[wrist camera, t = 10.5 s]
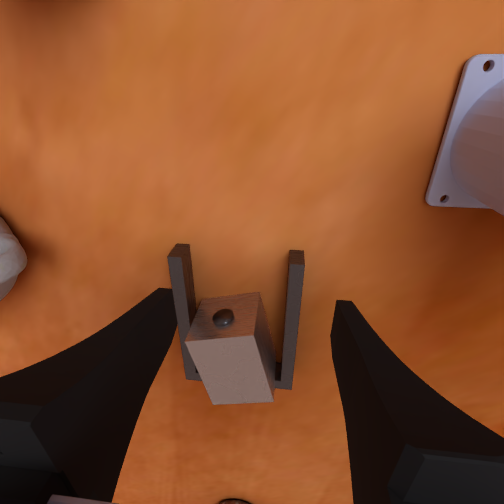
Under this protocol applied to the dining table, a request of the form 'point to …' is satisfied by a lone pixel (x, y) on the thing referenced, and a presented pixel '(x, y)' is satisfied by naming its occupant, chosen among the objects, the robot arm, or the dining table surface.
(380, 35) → the dining table surface
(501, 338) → the dining table surface
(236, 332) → the block
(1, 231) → the teacup
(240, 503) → the sauce bottle
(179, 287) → the channel bracket
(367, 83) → the dining table surface
